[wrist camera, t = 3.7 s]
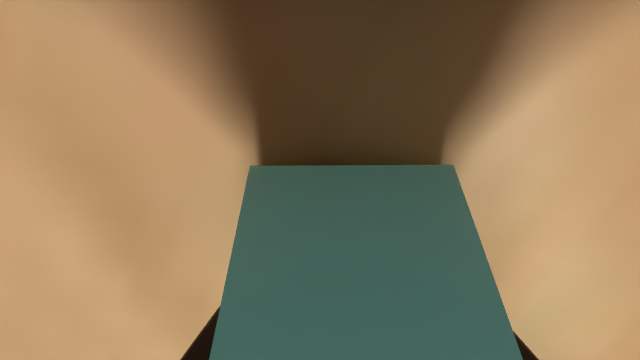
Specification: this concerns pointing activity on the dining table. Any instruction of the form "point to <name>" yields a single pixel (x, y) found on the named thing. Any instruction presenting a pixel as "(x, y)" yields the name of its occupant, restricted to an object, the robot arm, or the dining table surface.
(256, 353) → the plug
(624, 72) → the dining table surface
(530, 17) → the dining table surface
